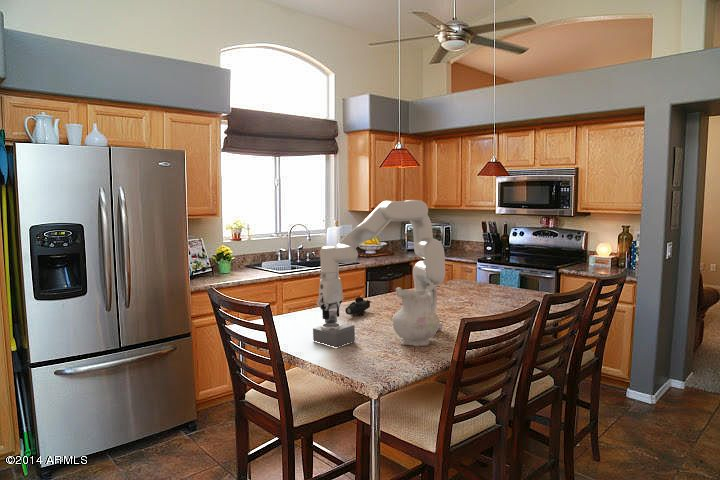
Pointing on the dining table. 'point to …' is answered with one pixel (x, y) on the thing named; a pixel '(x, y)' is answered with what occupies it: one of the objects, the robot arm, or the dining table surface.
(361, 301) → the night vision scope
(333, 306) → the lens
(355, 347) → the dining table surface
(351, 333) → the grey ring-socket block
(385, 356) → the dining table surface
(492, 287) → the dining table surface
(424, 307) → the ceramic pitcher
